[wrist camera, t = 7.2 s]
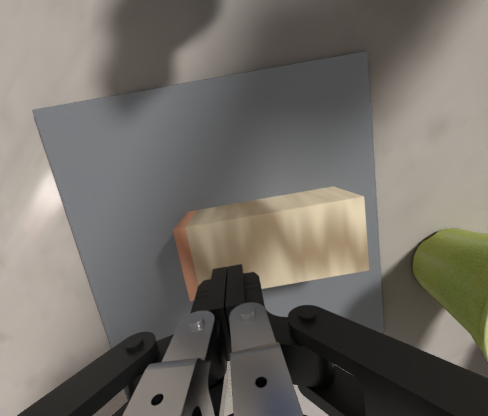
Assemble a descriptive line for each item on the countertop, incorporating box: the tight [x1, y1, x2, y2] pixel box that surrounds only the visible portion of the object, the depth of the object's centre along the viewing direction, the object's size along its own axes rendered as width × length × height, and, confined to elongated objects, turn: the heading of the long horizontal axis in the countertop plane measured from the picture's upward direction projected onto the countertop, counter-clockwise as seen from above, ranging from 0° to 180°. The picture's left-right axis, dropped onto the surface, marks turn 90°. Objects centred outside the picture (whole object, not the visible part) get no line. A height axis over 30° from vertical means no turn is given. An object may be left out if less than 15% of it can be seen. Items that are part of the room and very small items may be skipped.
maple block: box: [173, 186, 369, 301], centre depth 18 cm, size 5×5×12 cm
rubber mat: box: [32, 51, 384, 349], centre depth 21 cm, size 24×25×1 cm
